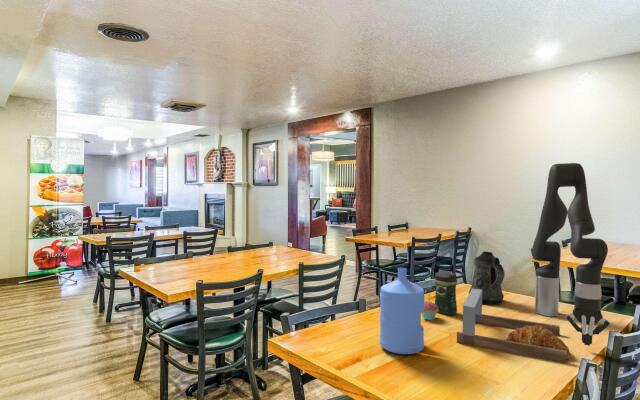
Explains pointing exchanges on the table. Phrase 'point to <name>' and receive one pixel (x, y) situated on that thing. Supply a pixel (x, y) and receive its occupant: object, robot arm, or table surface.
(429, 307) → the cupcake
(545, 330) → the pastry
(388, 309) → the water jug
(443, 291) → the coffee jar
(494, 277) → the beer stein
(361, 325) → the table surface
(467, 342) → the two-rail open rack
